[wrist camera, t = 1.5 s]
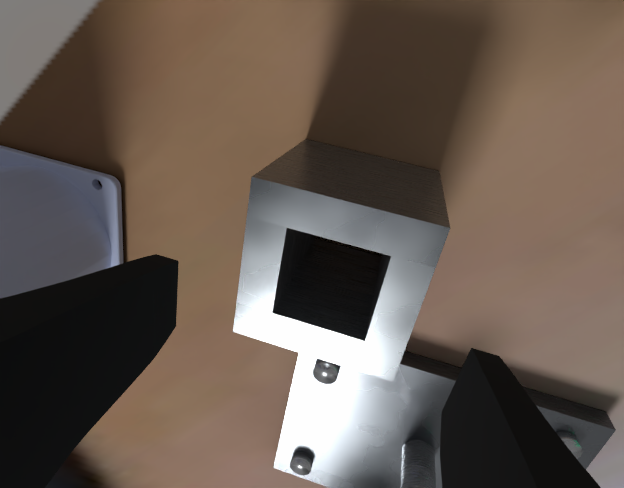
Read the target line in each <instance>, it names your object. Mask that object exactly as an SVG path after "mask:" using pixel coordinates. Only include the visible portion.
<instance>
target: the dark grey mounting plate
mask: <svg viewBox="0 0 624 488" xmlns="http://www.w3.org/2000/svg"><path fill="white" fill-rule="evenodd" d="M461 369H462V368H459V367H456V366H452V365H449V364H446V363H442V362H439V361H436V360H433V359H429V358H426V357H423V356H419V355H416V354H413V353H409V352H406V351H404V354H403V356H402V359H401V362H400V364H399V367H398V370H397V372H396V375H395V378H394V381H393V382H392V381H389V380H386V379H382V378H379V377H376V376H373V375H370V374H366V373H363V372H360V371H357V370H354V369H350V368H347V367H344V366H341V365H338V364H335V363H331V362H328V361H325V360H322V359H319V358H315V357H312V356H309V355H306V354H303V353H300V352H299V354H298V359H297V363H296V368H295V372H294V377H293V381H292V386H291V391H290V395H289V400H288V404H287V409H286V413H285V418H284V422H283V427H282V432H281V436H280V441H279V445H278V450H277V454H276V459H275V463H274V468H276V469H279V470H282V471H284V472H287V473H290V474H293V475H296V476H298V477H301V478H304V479H307V480H310V481H312V482H315V483H318V484H321V485H324V486H326V487H329V488H442V477H441V465H440V433H441V414H442V410H443V408H444V406H445V403H446V401H447V399H448V397H449V395H450V393H451V391H452V388H453V386H454V384H455V382H456V380H457V378H458V376H459V373H460V371H461ZM523 389H524V390H525V391H526V393H527V394H528V395H529V397H530V398H531V400H532V401H533V402H534V404H535V405H536V406H537V408H538V409H539V410H540V412H541V413H542V414H543V416H544V417H545V419H546V420H547V421H548V422H549V424H550V425H551V426H552V428H553V429H554V430H555V432H556V433H557V434H558V436H559V437H560V438H561V440H562V441H563V442H564V443H565V445H566V446H567V447H568V448H569V450H570V451H571V452H572V454H573V455H574V456H575V457H576V459H577V460H578V461H579V462H580V464H581V465H582V466H583V467H584V468H585V470H586V468H587V467H588V466H589V464H590V463H591V462H592V460H593V459H594V458H595V457H596V455H597V454H598V453H599V451H600V450H601V449H602V447H603V446H604V445H605V443H606V442H607V441H608V440H609V438H610V437H611V436H612V434H613V433H614V432H615V428H614V426H613V424H612V422H611V420H610V418H609V417H608V415H607V413H606V412H604V411H601V410H598V409H594V408H591V407H588V406H584V405H581V404H578V403H575V402H571V401H568V400H565V399H561V398H558V397H555V396H551V395H548V394H545V393H542V392H538V391H535V390H532V389H528V388H525V387H523Z"/></svg>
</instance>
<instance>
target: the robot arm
mask: <svg viewBox="0 0 624 488" xmlns="http://www.w3.org/2000/svg"><path fill="white" fill-rule="evenodd" d="M98 180H99V181H100V182H101V184H102V187H101V186H100V185H99V183H98ZM177 284H178V261H177V260H173V259H170V258H167V257H163V256H160V255H157V254H156V255H151V256H147V257H143V258H140V259H136V260H133V261H129V262H126V263H123V233H122V201H121V185H120V183H119V181H118V180H117V179H116V178H115V177H114V176H112V175H108V174H105V173H101V172H97V171H94V170H90V169H86V168H82V167H79V166H75V165H71V164H68V163H64V162H60V161H57V160H53V159H49V158H46V157H42V156H38V155H35V154H31V153H27V152H23V151H20V150H16V149H12V148H9V147H5V146H1V145H0V488H45V487H46V485H47V484H48V483H49V481H50V480H51V479H52V477H53V476H54V475H55V473H56V472H57V471H58V469H59V468H60V467H61V465H62V464H63V463H64V461H65V460H66V459H67V457H68V456H69V455H70V453H71V452H72V451H73V449H74V448H75V447H76V446H77V445H78V443H79V442H80V441H81V440H82V439H83V437H84V436H85V435H86V434H87V433H88V432H89V430H90V429H91V428H92V427H93V426H94V425H95V424H96V423H97V422H98V421H99V419H100V418H101V417H102V416H103V415H104V414H105V413H106V412H107V411H108V409H109V408H110V407H111V406H112V405H113V404H114V403H115V402H116V401H117V399H118V398H119V397H120V396H121V395H122V394H123V393H124V392H125V391H126V390H127V388H128V387H129V386H130V385H131V384H132V383H133V382H134V381H135V379H136V378H137V377H138V376H139V375H140V374H141V373H142V372H143V370H144V369H145V368H146V367H147V366H148V365H149V364H150V362H151V361H152V360H153V359H154V358H155V356H156V355H157V353H158V352H159V351H160V349H161V348H162V346H163V345H164V343H165V342H166V340H167V339H168V337H169V336H170V334H171V333H172V331H173V330H174V328H175V327H176V310H177ZM440 465H441V477H442V488H600V486H599V485H598V484H597V483H596V482H595V480H594V479H593V478H592V477H591V476H590V474H589V473H588V472H587V471H586V470H585V468H584V467H583V466H582V465H581V464H580V462H579V461H578V460H577V459H576V457H575V456H574V455H573V454H572V452H571V451H570V450H569V448H568V447H567V446H566V445H565V443H564V442H563V441H562V440H561V438H560V437H559V436H558V434H557V433H556V432H555V430H554V429H553V428H552V426H551V425H550V424H549V422H548V421H547V420H546V419H545V417H544V416H543V414H542V413H541V412H540V410H539V409H538V408H537V406H536V405H535V404H534V402H533V401H532V400H531V398H530V397H529V395H528V394H527V393H526V391H525V390H524V389H523V387H522V386H521V384H520V383H519V382H518V380H517V379H516V378H515V376H514V375H513V374H512V372H511V371H510V369H509V368H508V367H507V366H506V364H505V363H504V362H503V360H502V359H501V358H500V357H499V356H496V355H493V354H490V353H486V352H483V351H480V350H476V349H473V348H471V350H470V352H469V354H468V356H467V359H466V361H465V363H464V365H463V367H462V369H461V371H460V373H459V376H458V378H457V380H456V382H455V384H454V386H453V388H452V391H451V393H450V395H449V397H448V399H447V401H446V403H445V406H444V408H443V410H442V414H441V433H440Z"/></svg>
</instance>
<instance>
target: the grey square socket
mask: <svg viewBox="0 0 624 488" xmlns="http://www.w3.org/2000/svg"><path fill="white" fill-rule="evenodd" d="M449 230H450V224H449V219H448V214H447V208H446V203H445V198H444V193H443V188H442V182H441V177H440V172H439V171H437V170H433V169H429V168H424V167H420V166H416V165H412V164H408V163H404V162H400V161H395V160H391V159H387V158H383V157H379V156H375V155H370V154H366V153H362V152H358V151H354V150H350V149H346V148H341V147H337V146H333V145H329V144H325V143H321V142H316V141H312V140H308V139H305V140H304V141H302V142H301V143H299V144H298V145H297V146H295V147H294V148H292V149H291V150H289V151H288V152H287V153H285V154H284V155H282V156H281V157H279V158H278V159H276V160H275V161H274V162H272V163H271V164H269V165H268V166H266V167H265V168H264V169H262V170H261V171H259V172H258V173H256V174H255V175H254V176H252V179H251V187H250V196H249V204H248V212H247V220H246V229H245V237H244V245H243V254H242V262H241V270H240V279H239V287H238V295H237V303H236V312H235V320H234V328H233V332H236V333H239V334H242V335H245V336H249V337H252V338H255V339H258V340H261V341H265V342H268V343H271V344H274V345H277V346H280V347H284V348H287V349H290V350H293V351H296V352H300V353H303V354H306V355H309V356H312V357H315V358H319V359H322V360H325V361H328V362H331V363H335V364H338V365H341V366H344V367H347V368H350V369H354V370H357V371H360V372H363V373H366V374H370V375H373V376H376V377H379V378H382V379H386V380H389V381H392V382H393V381H394V378H395V375H396V372H397V370H398V367H399V364H400V362H401V359H402V356H403V354H404V351H405V348H406V346H407V343H408V340H409V338H410V335H411V332H412V329H413V327H414V324H415V321H416V319H417V316H418V313H419V311H420V308H421V305H422V303H423V300H424V297H425V295H426V292H427V289H428V287H429V284H430V281H431V278H432V276H433V273H434V270H435V268H436V265H437V262H438V260H439V257H440V254H441V252H442V249H443V246H444V244H445V241H446V238H447V235H448V233H449ZM316 236H319V237H323V238H327V239H330V240H334V241H338V242H341V243H345V244H349V245H352V246H356V247H360V248H363V249H367V250H371V251H374V252H378V253H382V255H381V257H380V256H377V255H373V254H369V253H366V252H362V251H359V250H355V249H351V248H348V247H344V246H340V245H337V244H333V243H329V242H326V241H322V240H318V239H315V237H316Z"/></svg>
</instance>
